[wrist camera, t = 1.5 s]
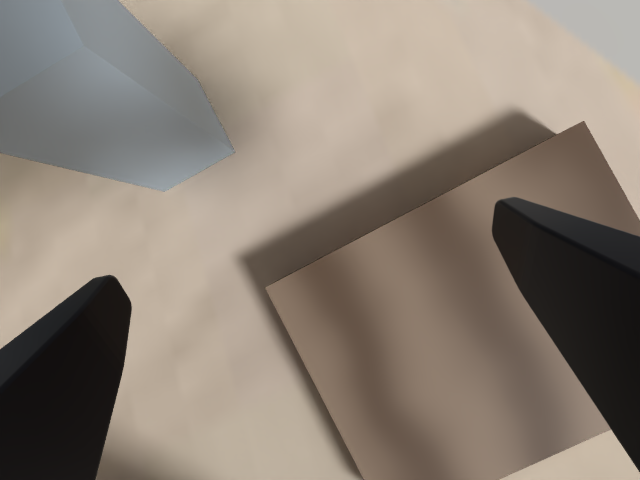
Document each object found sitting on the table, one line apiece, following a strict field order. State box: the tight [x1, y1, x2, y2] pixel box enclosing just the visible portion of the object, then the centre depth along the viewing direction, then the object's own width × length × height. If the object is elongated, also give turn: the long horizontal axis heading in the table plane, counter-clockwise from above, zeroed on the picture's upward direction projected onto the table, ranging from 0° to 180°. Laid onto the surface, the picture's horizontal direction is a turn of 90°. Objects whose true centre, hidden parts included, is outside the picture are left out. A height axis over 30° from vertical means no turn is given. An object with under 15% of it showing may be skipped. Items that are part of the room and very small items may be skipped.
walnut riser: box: [265, 121, 640, 480], centre depth 21 cm, size 18×14×2 cm
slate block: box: [0, 0, 235, 192], centre depth 17 cm, size 5×5×13 cm
